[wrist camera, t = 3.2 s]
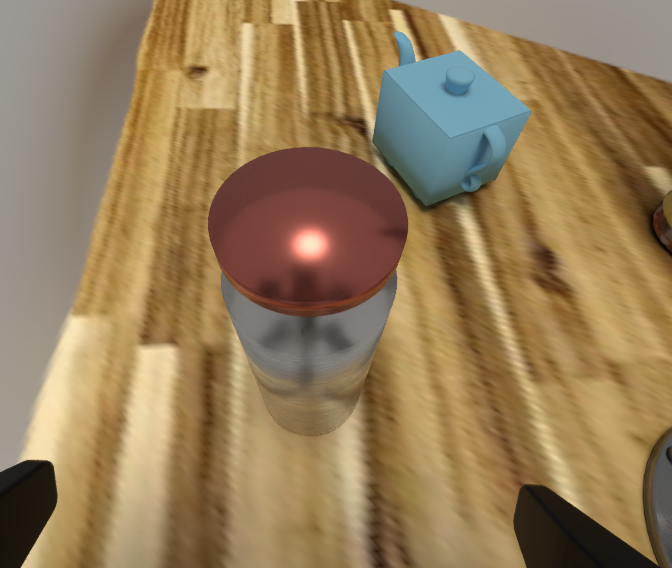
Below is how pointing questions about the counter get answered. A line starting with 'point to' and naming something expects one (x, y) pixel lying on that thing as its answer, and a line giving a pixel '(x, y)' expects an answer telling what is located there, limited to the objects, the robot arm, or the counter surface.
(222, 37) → the counter surface
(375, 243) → the jar with red lid
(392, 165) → the teapot
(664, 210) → the sauce bottle
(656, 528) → the dark grey handled piece
